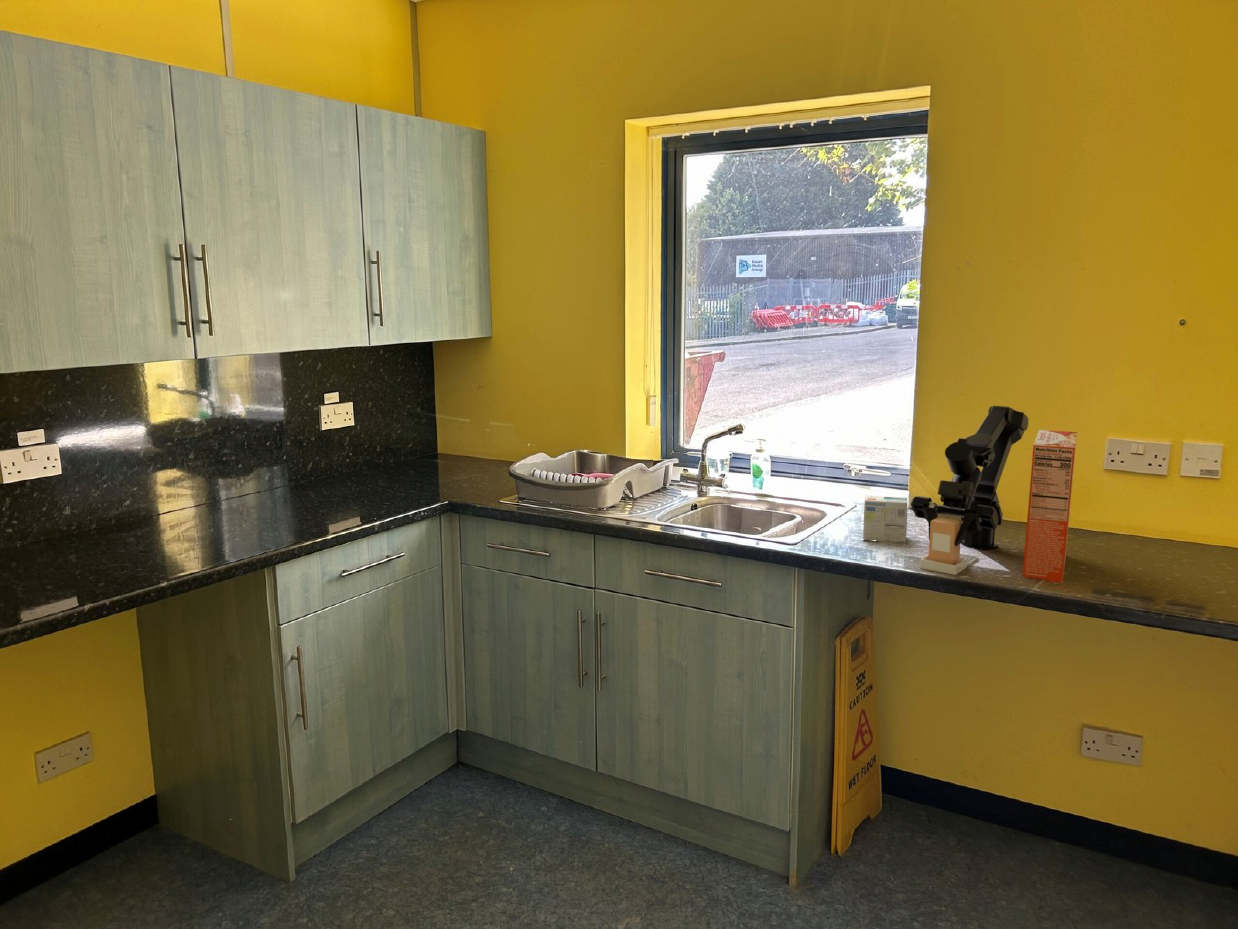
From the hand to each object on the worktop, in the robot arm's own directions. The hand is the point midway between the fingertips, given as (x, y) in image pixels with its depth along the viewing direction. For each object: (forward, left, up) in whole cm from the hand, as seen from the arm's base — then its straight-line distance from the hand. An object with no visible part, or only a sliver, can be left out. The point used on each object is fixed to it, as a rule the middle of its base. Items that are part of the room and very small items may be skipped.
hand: (942, 542), depth 210 cm
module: (-1, -1, -6) cm, 6 cm away
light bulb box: (-4, -27, -7) cm, 28 cm away
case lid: (-8, -5, -7) cm, 12 cm away
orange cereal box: (-24, +6, -7) cm, 26 cm away
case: (-1, -1, -7) cm, 7 cm away
